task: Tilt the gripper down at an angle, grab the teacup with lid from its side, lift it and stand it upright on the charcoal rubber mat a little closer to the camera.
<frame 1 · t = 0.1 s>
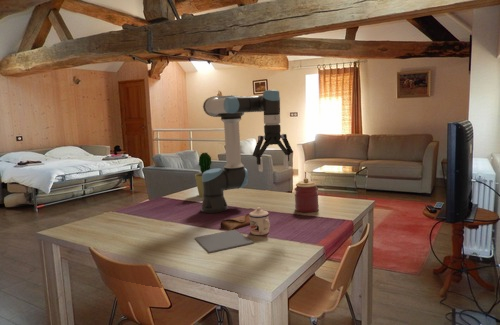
hand: (273, 170, 175), 28 cm above the table, tool pointing down, fingers open, 13 cm apart
potted cactus: (207, 195, 255), on the table
sunglasses case: (239, 226, 186), on the table
charcoal mat: (223, 241, 164), on the table
teacup with lid: (261, 233, 172), on the table
canister: (306, 209, 208), on the table
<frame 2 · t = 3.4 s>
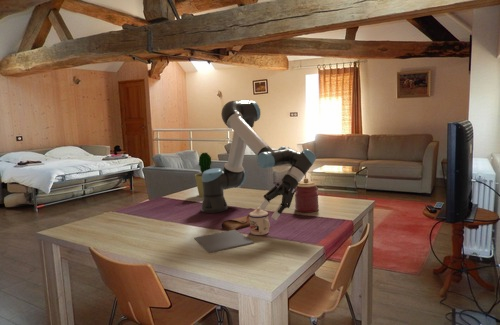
hand: (265, 215, 171), 8 cm above the table, tool tilted 45°, fingers open, 13 cm apart
sunglasses case: (241, 226, 185), on the table
teacup with lid: (261, 233, 172), on the table, touching gripper
everything else where it was.
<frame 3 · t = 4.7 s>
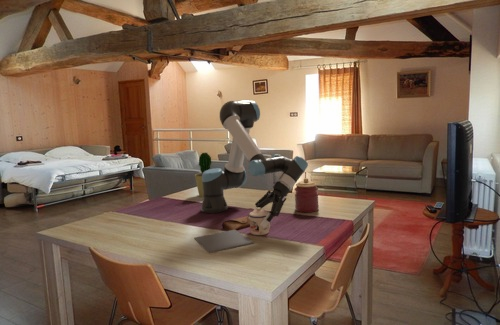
hand: (256, 223, 171), 5 cm above the table, tool tilted 45°, fingers closed on teacup with lid, 12 cm apart
teacup with lid: (261, 233, 172), on the table, touching gripper
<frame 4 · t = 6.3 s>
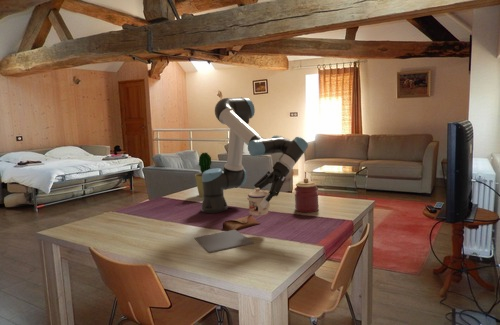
hand: (255, 203, 169), 14 cm above the table, tool tilted 45°, fingers closed on teacup with lid, 12 cm apart
teacup with lid: (260, 214, 171), point 9 cm above the table, touching gripper
everything else where it was.
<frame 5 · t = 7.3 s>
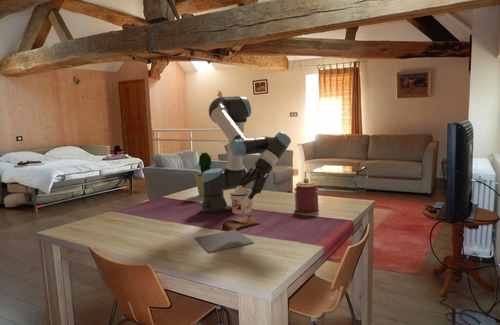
hand: (237, 201, 164), 17 cm above the table, tool tilted 45°, fingers closed on teacup with lid, 12 cm apart
teacup with lid: (244, 212, 166), point 12 cm above the table, touching gripper
everything else where it was.
when the fingers open (7 cm above the table, at t = 10.4 s): teacup with lid drops 1 cm, on the table.
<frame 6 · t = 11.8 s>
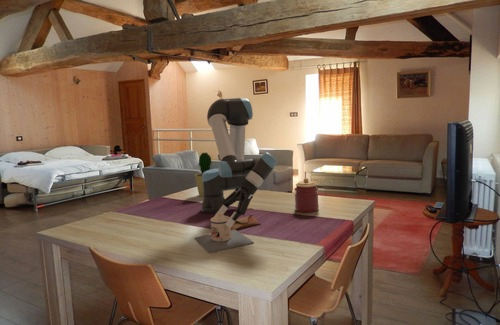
hand: (221, 221, 163), 9 cm above the table, tool tilted 45°, fingers open, 13 cm apart
teacup with lid: (223, 239, 165), resting on charcoal mat, touching gripper
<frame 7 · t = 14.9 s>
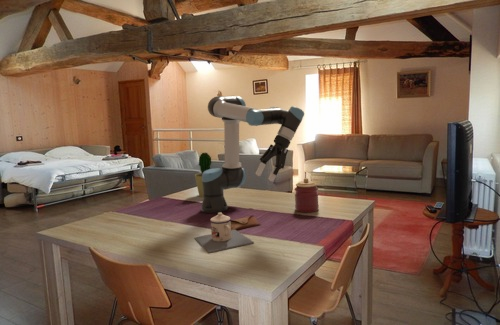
hand: (263, 177, 177), 24 cm above the table, tool tilted 30°, fingers open, 13 cm apart
teacup with lid: (223, 239, 165), resting on charcoal mat
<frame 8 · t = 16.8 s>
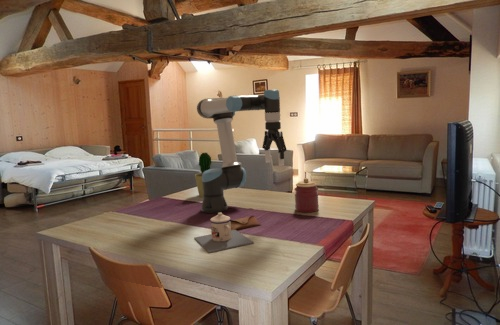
hand: (274, 164, 188), 29 cm above the table, tool pointing down, fingers open, 13 cm apart
at the end: teacup with lid inside the target area on the charcoal mat (0.4 cm from its centre), point 0.4 cm above the charcoal mat's base; teacup with lid tilted 0°; the gripper is holding nothing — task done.
